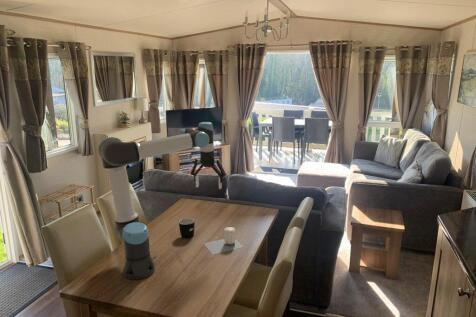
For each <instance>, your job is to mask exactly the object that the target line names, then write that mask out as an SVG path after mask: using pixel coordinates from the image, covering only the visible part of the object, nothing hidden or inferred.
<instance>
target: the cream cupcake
mask: <svg viewBox="0 0 476 317" xmlns="http://www.w3.org/2000/svg"><path fill="white" fill-rule="evenodd" d="M223 239H224V242H225V243H228V244H232V243H235V239H236V228H235V227H231V226H229V227H228V226H227V227H225V228H223Z"/></svg>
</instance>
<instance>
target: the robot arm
mask: <svg viewBox="0 0 476 317" xmlns="http://www.w3.org/2000/svg"><path fill="white" fill-rule="evenodd" d="M193 148H199V151H200V152H199V153H200V154H199V155H200V158H198V157H197V158H195V160H194V164H193V167H192V168H191V171H190V175H192V176H193V181H194V182H195V188H199V186H200V183H199V182H200V180H199V179H200V178H199V172H201V170H202V169H203V168H211V169H213V171H214V172H215V173H216V174H217V175H218V190H221V189H222V188H223V184H222V183H224V177H226V176H227V173H226V171H225V169H224V168H223V165H222V163H221V160H220V159H219V158H218V159H215V151H214V149H215V145H214V126H213V123H212V122H210V121H202V122H199V123H198V126H196V127H188V128H180V129H178V130H177V134H176V135H170V136H167V137H162V138H158V139H157V138H156V139H151V140H146V141H142V142H137V141H130V142H129V141H122V140H121V139H119V138H117V137H113V136H111V137H106V138H104V139H102V141H100V143H99V145H98V154H99V156H100V158H101V161H102V162H101V163H102V166H103V169H104V170H106V171H107V174H108V178H109V183H110V189H111V193H112V198H113V203H114V204H113V205H114V207H115V212H116V216H115V217H114V223H115V226H114V232H115V233H116V236H118V238H119V239H120V241H121V243H122V244H123V249H124V256H125V260H124V264H123V268H122V274H123V276H124V278H126V279H128V280H135V281H136V280H137V281H138V280H142V279H146V278H148V277H150V276H151V275H153V274H154V273H155V271H156V265H155V262H154V259H153V257H152V255H151V250H150V249H151V248H150V239H149V238H150V237H149V235H150V233H149V228H148V227H147V225H146V224H145V223H142V222H140V216H139V213H138V212H137V211H135V208H134V203H133V198H132V192H131V187H130V181H129V177H128V171H127V166H128V165H131V164H136V163H140V162H141V161H142V160H143V159H147V158H148V159H149V158H153V157H156V156H162V155H166V154H171V153H174V152H175V153H176V152H179V151H184V150H189V149H193ZM199 163H200V165H199ZM198 165H199V167H198ZM216 165H217V166H216ZM197 167H198V168H197ZM196 169H197V170H196Z"/></svg>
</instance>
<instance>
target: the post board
mask: <svg viewBox="0 0 476 317" xmlns="http://www.w3.org/2000/svg"><path fill="white" fill-rule="evenodd" d="M203 245H205V247H206V248H207V250H208V251H209V252H210V254H211V255H217V254H221V253H225V252H228V251H229V252H230V251H233V250H238V249H241V248H244V246H243V244H241V243H240V242H239V241H238V240H237V239H236V238H235V243H232V244H228V243H225V242H224V238H222V239H217V240H213V241H208V242H203Z"/></svg>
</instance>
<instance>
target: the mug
mask: <svg viewBox="0 0 476 317" xmlns="http://www.w3.org/2000/svg"><path fill="white" fill-rule="evenodd" d="M195 224H196V223H195V219H193V218H190V217H189V218H188V217H187V218H181V219H179V221H178V227H179V233H180V236H181V238H183V239H190V238H193V237H194V235H195V228H196V227H195Z"/></svg>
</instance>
